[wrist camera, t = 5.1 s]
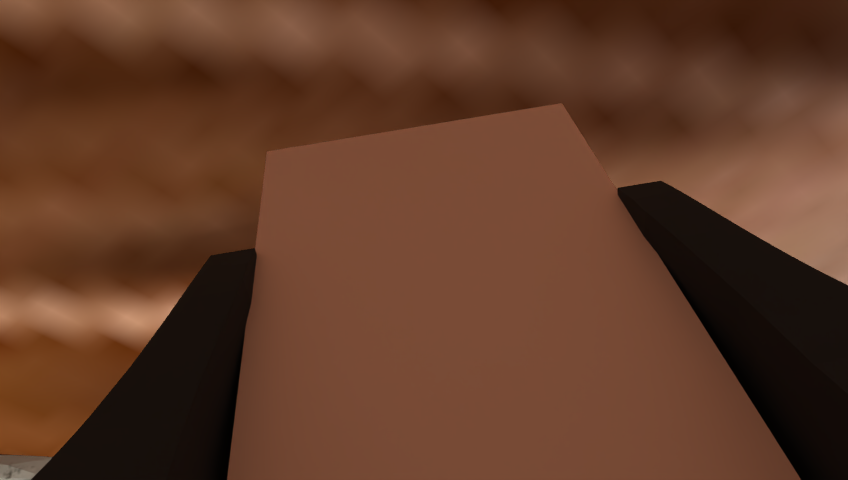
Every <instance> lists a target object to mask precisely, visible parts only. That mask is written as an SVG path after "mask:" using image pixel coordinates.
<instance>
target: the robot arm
mask: <svg viewBox="0 0 848 480" xmlns="http://www.w3.org/2000/svg"><path fill="white" fill-rule="evenodd" d="M617 195H618V196H619V198H620V199H621V201H622V203H623V204H624V206H625V207H626V209H627V211H628V212H629V214H630V215H631V217H632V219H633V220H634V222H635V223H636V225H637V226H638V228H639V230H640V231H641V233H642V234H643V236H644V237H645V239H646V240H647V241H648V242H649V244H650V245H651V246H652V247H653V249H654V250H655V251H656V252H657V254H658V255H659V257H660V258H661V260H662V262H663V263H664V265H665V266H666V268H667V269H668V271H669V273H670V274H671V276H672V277H673V279H674V280H675V282H676V284H677V285H678V287H679V288H680V290H681V291H682V293H683V295H684V296H685V298H686V299H687V301H688V302H689V304H690V306H691V307H692V309H693V310H694V312H695V314H696V315H697V317H698V318H699V320H700V321H701V323H702V325H703V326H704V328H705V329H706V331H707V332H708V334H709V336H710V337H711V339H712V340H713V342H714V343H715V345H716V347H717V348H718V350H719V351H720V353H721V354H722V356H723V358H724V359H725V361H726V362H727V364H728V365H729V367H730V369H731V370H732V372H733V373H734V375H735V376H736V378H737V380H738V381H739V383H740V384H741V386H742V387H743V389H744V391H745V392H746V394H747V395H748V397H749V398H750V400H751V402H752V403H753V405H754V406H755V408H756V409H757V411H758V413H759V414H760V416H761V417H762V419H763V420H764V422H765V424H766V425H767V427H768V428H769V430H770V432H771V433H772V435H773V436H774V438H775V439H776V441H777V443H778V444H779V446H780V447H781V449H782V450H783V452H784V454H785V455H786V457H787V458H788V460H789V461H790V463H791V465H792V466H793V468H794V469H795V471H796V472H797V474H798V476H799V477H800V479H801V480H848V285H846V284H844V283H842V282H840V281H838V280H836V279H834V278H832V277H830V276H828V275H826V274H824V273H822V272H820V271H818V270H816V269H814V268H812V267H811V266H809V265H807V264H805V263H803V262H801V261H799V260H798V259H796V258H794V257H792V256H790V255H788V254H787V253H785V252H783V251H781V250H779V249H778V248H776V247H774V246H772V245H771V244H769V243H767V242H765V241H764V240H762V239H760V238H758V237H757V236H755V235H753V234H751V233H750V232H748V231H746V230H745V229H743V228H741V227H739V226H738V225H736V224H734V223H733V222H731V221H729V220H728V219H726V218H724V217H723V216H721V215H719V214H718V213H716V212H714V211H713V210H711V209H709V208H708V207H706V206H704V205H703V204H701V203H699V202H698V201H696V200H694V199H693V198H691V197H689V196H687V195H686V194H684V193H682V192H681V191H679V190H677V189H675V188H674V187H672V186H670V185H668V184H666V183H664V182H662V181H657V182H651V183H645V184H639V185H633V186H627V187H621V188H618V194H617ZM256 259H257V253H256V250H255V248H253V249H247V250H241V251H235V252H229V253H223V254H217V255H211V256H210V258H209V259H208V260H207V262H206V263H205V264H204V266H203V267H202V268H201V270H200V271H199V272H198V274H197V275H196V277H195V278H194V279H193V281H192V282H191V284H190V285H189V287H188V288H187V289H186V291H185V292H184V294H183V295H182V297H181V298H180V299H179V301H178V302H177V304H176V305H175V307H174V308H173V309H172V311H171V312H170V314H169V315H168V316H167V318H166V319H165V321H164V322H163V323H162V325H161V326H160V328H159V329H158V330H157V332H156V333H155V334H154V336H153V337H152V338H151V340H150V341H149V342H148V344H147V345H146V347H145V348H144V349H143V351H142V352H141V353H140V355H139V356H138V357H137V359H136V360H135V361H134V363H133V364H132V365H131V367H130V368H129V369H128V370H127V372H126V373H125V374H124V375H123V377H122V378H121V379H120V380H119V381H118V383H117V384H116V385H115V386H114V388H113V389H112V390H111V391H110V392H109V394H108V395H107V396H106V397H105V399H104V400H103V401H102V402H101V403H100V405H99V406H98V407H97V408H96V410H95V411H94V412H93V413H92V414H91V416H90V417H89V418H88V419H87V420H86V421H85V423H84V424H83V425H82V426H81V427H80V428H79V429H78V431H77V432H76V433H75V434H74V435H73V436H72V437H71V438H70V439H69V440H68V441H67V443H66V444H65V445H64V446H63V447H62V448H61V449H60V450H59V451H58V452H57V453H56V454H55V455H54V456H53V457H52V459H51V460H50V461H49V462H48V463H47V464H46V465H45V466H44V467H43V468H42V469H41V470H40V471H39V472H38V473H37V474H36V475H35V476H34V477H33V478H32V479H31V480H227V476H228V468H229V459H230V451H231V443H232V435H233V427H234V418H235V410H236V402H237V394H238V385H239V377H240V369H241V361H242V353H243V344H244V336H245V328H246V322H247V318H248V314H249V310H250V306H251V301H252V293H253V284H254V276H255V267H256Z"/></svg>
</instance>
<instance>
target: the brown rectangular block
mask: <svg viewBox="0 0 848 480" xmlns="http://www.w3.org/2000/svg"><path fill="white" fill-rule="evenodd" d="M617 194H618V191H617V189H616V188H615V186H614V184H613V183H612V181H611V180H610V178H609V177H608V175H607V173H606V172H605V170H604V169H603V167H602V166H601V164H600V162H599V161H598V159H597V158H596V156H595V155H594V153H593V151H592V150H591V148H590V147H589V145H588V144H587V142H586V140H585V139H584V137H583V136H582V134H581V133H580V131H579V129H578V128H577V126H576V125H575V123H574V122H573V120H572V118H571V117H570V115H569V114H568V112H567V111H566V109H565V107H564V106H563V104H562V103H559V104H553V105H547V106H541V107H535V108H529V109H522V110H516V111H510V112H504V113H498V114H492V115H486V116H480V117H474V118H468V119H461V120H455V121H449V122H443V123H437V124H431V125H425V126H419V127H413V128H407V129H400V130H394V131H388V132H382V133H376V134H370V135H364V136H358V137H352V138H346V139H339V140H333V141H327V142H321V143H315V144H309V145H303V146H297V147H291V148H285V149H278V150H272V151H267V155H266V163H265V172H264V180H263V188H262V196H261V204H260V213H259V221H258V229H257V237H256V246H255V250H256V253H257V259H256V267H255V276H254V284H253V293H252V301H251V306H250V310H249V314H248V318H247V322H246V328H245V336H244V344H243V353H242V361H241V369H240V377H239V385H238V394H237V402H236V410H235V418H234V427H233V435H232V443H231V451H230V459H229V468H228V476H227V480H801V479H800V477H799V476H798V474H797V472H796V471H795V469H794V468H793V466H792V465H791V463H790V461H789V460H788V458H787V457H786V455H785V454H784V452H783V450H782V449H781V447H780V446H779V444H778V443H777V441H776V439H775V438H774V436H773V435H772V433H771V432H770V430H769V428H768V427H767V425H766V424H765V422H764V420H763V419H762V417H761V416H760V414H759V413H758V411H757V409H756V408H755V406H754V405H753V403H752V402H751V400H750V398H749V397H748V395H747V394H746V392H745V391H744V389H743V387H742V386H741V384H740V383H739V381H738V380H737V378H736V376H735V375H734V373H733V372H732V370H731V369H730V367H729V365H728V364H727V362H726V361H725V359H724V358H723V356H722V354H721V353H720V351H719V350H718V348H717V347H716V345H715V343H714V342H713V340H712V339H711V337H710V336H709V334H708V332H707V331H706V329H705V328H704V326H703V325H702V323H701V321H700V320H699V318H698V317H697V315H696V314H695V312H694V310H693V309H692V307H691V306H690V304H689V302H688V301H687V299H686V298H685V296H684V295H683V293H682V291H681V290H680V288H679V287H678V285H677V284H676V282H675V280H674V279H673V277H672V276H671V274H670V273H669V271H668V269H667V268H666V266H665V265H664V263H663V262H662V260H661V258H660V257H659V255H658V254H657V252H656V251H655V250H654V249H653V247H652V246H651V245H650V244H649V242H648V241H647V240H646V239H645V237H644V236H643V234H642V233H641V231H640V230H639V228H638V226H637V225H636V223H635V222H634V220H633V219H632V217H631V215H630V214H629V212H628V211H627V209H626V207H625V206H624V204H623V203H622V201H621V199H620V198H619V196H618V195H617Z"/></svg>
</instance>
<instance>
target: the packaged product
mask: <svg viewBox="0 0 848 480" xmlns="http://www.w3.org/2000/svg"><path fill="white" fill-rule="evenodd" d="M51 459H52V457H41V456H21V455H0V480H31V479H32V478H33V477H34V476H35V475H36V474H37V473H38V472H39V471H40V470H41V469H42V468H43V467H44V466H45V465H46V464H47V463H48V462H49V461H50V460H51Z"/></svg>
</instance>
